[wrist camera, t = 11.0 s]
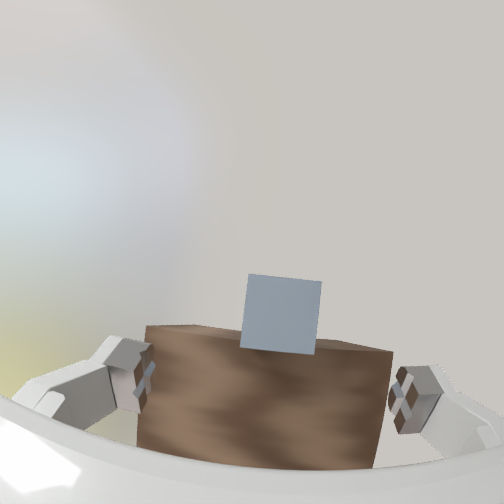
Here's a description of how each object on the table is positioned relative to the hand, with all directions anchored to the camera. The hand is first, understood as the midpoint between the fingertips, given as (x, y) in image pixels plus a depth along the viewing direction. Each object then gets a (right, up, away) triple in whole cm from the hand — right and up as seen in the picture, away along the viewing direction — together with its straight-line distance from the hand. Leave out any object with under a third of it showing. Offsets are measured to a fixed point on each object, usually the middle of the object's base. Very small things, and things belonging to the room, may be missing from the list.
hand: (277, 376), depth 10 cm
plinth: (-3, -28, +9) cm, 29 cm away
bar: (0, -3, +15) cm, 16 cm away
